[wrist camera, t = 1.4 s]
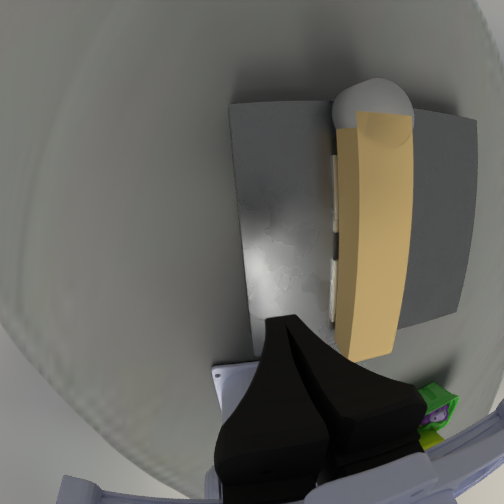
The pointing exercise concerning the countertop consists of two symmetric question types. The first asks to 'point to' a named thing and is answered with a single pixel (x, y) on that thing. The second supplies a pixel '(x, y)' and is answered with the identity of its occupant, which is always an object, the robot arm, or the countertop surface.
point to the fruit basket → (435, 413)
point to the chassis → (327, 213)
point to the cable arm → (372, 214)
